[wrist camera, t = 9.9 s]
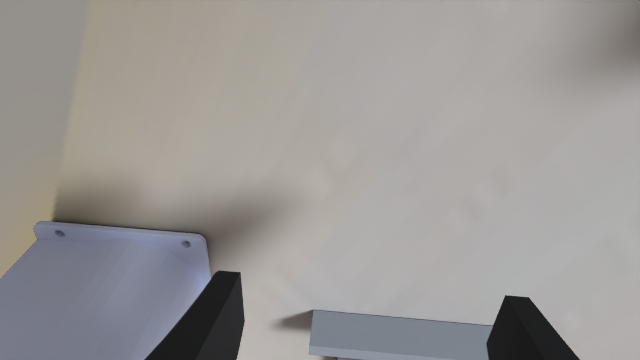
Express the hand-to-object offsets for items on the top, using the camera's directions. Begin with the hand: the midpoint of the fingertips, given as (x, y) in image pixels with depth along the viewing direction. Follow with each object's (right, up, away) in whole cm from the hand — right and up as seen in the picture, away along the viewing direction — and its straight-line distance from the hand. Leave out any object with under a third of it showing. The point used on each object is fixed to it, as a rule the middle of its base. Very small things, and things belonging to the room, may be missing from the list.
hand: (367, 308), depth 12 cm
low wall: (+5, -5, +14) cm, 16 cm away
